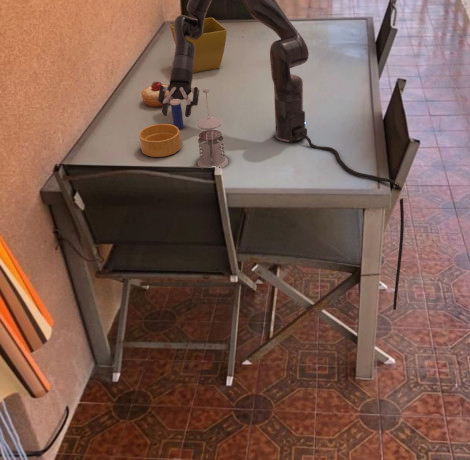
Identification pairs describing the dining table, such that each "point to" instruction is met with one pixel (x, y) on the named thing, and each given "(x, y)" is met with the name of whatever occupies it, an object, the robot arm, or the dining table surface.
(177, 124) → the vial
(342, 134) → the dining table surface
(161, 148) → the bowl
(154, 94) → the pastry
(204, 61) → the flower pot
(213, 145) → the french press
